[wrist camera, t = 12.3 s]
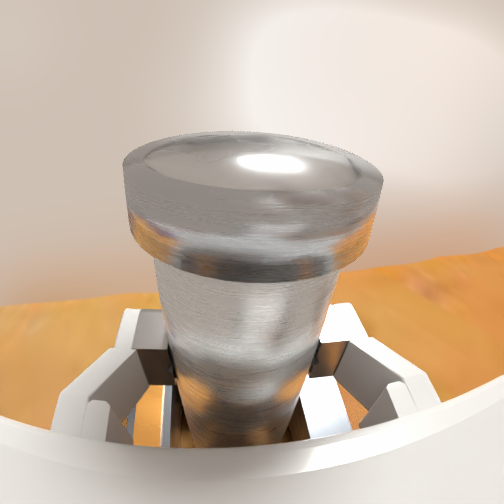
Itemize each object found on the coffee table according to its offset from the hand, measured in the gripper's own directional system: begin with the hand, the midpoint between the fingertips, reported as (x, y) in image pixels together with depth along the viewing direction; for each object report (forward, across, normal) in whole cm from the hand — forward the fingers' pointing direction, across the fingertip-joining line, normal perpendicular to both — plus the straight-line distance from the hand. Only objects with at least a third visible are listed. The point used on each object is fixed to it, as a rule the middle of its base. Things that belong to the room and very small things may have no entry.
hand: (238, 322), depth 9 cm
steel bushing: (-1, 0, +8) cm, 8 cm away
